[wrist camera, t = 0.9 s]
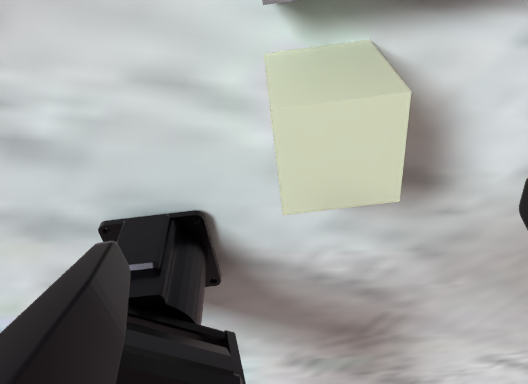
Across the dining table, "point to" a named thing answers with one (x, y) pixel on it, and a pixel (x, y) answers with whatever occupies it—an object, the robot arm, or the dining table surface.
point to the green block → (337, 126)
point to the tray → (274, 1)
